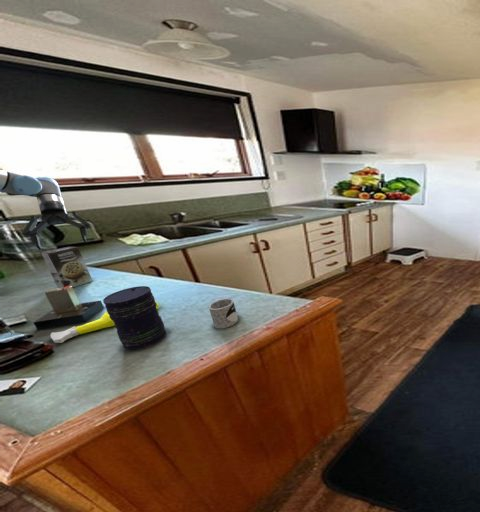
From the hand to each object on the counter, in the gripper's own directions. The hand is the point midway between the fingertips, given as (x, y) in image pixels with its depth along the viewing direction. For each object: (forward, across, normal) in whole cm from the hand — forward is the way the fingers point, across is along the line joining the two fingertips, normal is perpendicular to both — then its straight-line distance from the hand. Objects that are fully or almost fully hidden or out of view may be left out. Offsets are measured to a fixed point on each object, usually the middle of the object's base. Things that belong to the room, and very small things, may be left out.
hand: (62, 244), depth 119 cm
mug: (+76, -39, +53) cm, 101 cm away
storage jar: (+72, -19, +48) cm, 89 cm away
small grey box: (+45, -2, +26) cm, 52 cm away
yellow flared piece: (+57, -11, +33) cm, 67 cm away
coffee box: (+19, 0, -5) cm, 19 cm away
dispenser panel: (+47, -2, +24) cm, 53 cm away
